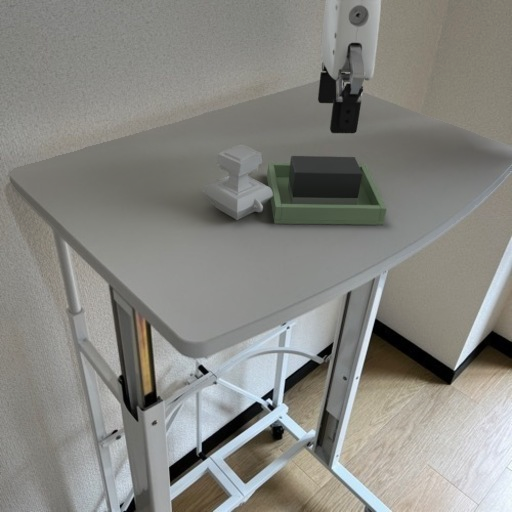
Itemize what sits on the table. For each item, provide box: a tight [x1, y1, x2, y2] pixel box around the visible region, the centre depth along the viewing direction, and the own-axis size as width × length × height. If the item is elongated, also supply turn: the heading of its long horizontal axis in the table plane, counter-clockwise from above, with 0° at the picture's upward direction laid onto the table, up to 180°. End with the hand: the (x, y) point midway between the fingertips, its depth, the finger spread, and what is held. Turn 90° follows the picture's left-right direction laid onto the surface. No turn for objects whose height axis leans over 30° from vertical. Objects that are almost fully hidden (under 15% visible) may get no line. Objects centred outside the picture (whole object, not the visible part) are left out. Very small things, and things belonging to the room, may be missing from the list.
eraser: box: [288, 155, 362, 205], centre depth 76 cm, size 9×5×5 cm, turn 93°
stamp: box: [202, 143, 273, 221], centre depth 72 cm, size 9×7×8 cm
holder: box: [266, 162, 387, 226], centre depth 77 cm, size 15×13×3 cm
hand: (335, 116), depth 70 cm, fingers open, 9 cm apart
